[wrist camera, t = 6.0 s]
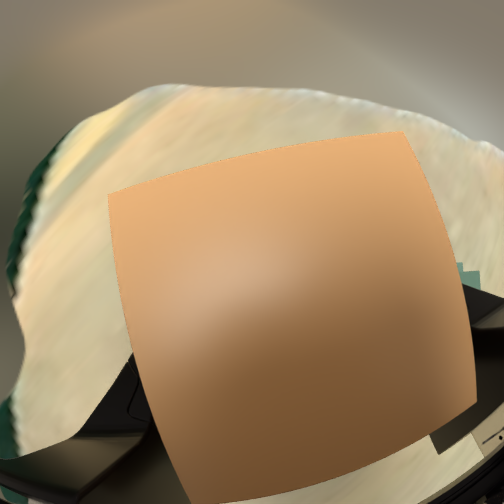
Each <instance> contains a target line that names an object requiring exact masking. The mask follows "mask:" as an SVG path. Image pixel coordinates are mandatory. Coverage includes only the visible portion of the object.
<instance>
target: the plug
mask: <svg viewBox="0 0 504 504" xmlns="http://www.w3.org/2000/svg"><path fill="white" fill-rule="evenodd" d="M108 204H109V216H110V227H111V236H112V244H113V252H114V259H115V266H116V273H117V279H118V285H119V290H120V296H121V301H122V306H123V311H124V316H125V320H126V325H127V329H128V333H129V337H130V342H131V346H132V349H133V353H134V357H135V361H136V364H137V368H138V371H139V375H140V378H141V381H142V385H143V388H144V391H145V394H146V397H147V400H148V403H149V406H150V409H151V412H152V415H153V418H154V420H155V423H156V426H157V428H158V431H159V434H160V436H161V439H162V441H163V444H164V446H165V448H166V451H167V453H168V456H169V458H170V460H171V463H172V465H173V467H174V469H175V471H176V474H177V476H178V478H179V480H180V482H181V484H182V486H183V488H184V490H185V492H186V494H187V496H188V498H189V500H190V502H191V504H220V503H229V502H237V501H244V500H250V499H256V498H261V497H267V496H271V495H276V494H281V493H285V492H289V491H293V490H297V489H301V488H304V487H308V486H311V485H315V484H318V483H321V482H324V481H327V480H330V479H333V478H336V477H339V476H342V475H345V474H347V473H350V472H352V471H355V470H358V469H360V468H362V467H365V466H367V465H370V464H372V463H374V462H376V461H379V460H381V459H383V458H385V457H387V456H389V455H391V454H393V453H395V452H397V451H399V450H401V449H403V448H405V447H407V446H409V445H411V444H413V443H415V442H416V441H418V440H420V439H422V438H423V437H425V436H427V435H428V434H430V433H432V432H433V431H435V430H437V429H438V428H440V427H441V426H443V425H445V424H446V423H448V422H449V421H451V420H452V419H454V418H455V417H456V416H458V415H459V414H461V413H462V412H464V411H465V410H466V409H468V408H469V407H470V406H472V405H473V404H474V403H476V402H477V391H476V373H475V361H474V351H473V343H472V336H471V329H470V323H469V317H468V312H467V306H466V301H465V297H464V292H463V288H462V283H461V279H460V275H459V271H458V268H457V264H456V260H455V257H454V253H453V250H452V247H451V244H450V240H449V237H448V234H447V231H446V228H445V225H444V223H443V220H442V217H441V214H440V212H439V209H438V206H437V204H436V201H435V199H434V196H433V194H432V191H431V189H430V187H429V184H428V182H427V180H426V177H425V175H424V173H423V171H422V169H421V166H420V164H419V162H418V160H417V158H416V156H415V154H414V152H413V150H412V148H411V146H410V144H409V142H408V140H407V138H406V136H405V135H404V133H403V131H401V132H388V133H377V134H368V135H359V136H350V137H343V138H335V139H328V140H321V141H315V142H309V143H303V144H297V145H291V146H286V147H281V148H275V149H270V150H265V151H261V152H256V153H251V154H247V155H242V156H238V157H234V158H229V159H225V160H221V161H217V162H213V163H209V164H205V165H201V166H198V167H194V168H190V169H187V170H183V171H180V172H176V173H173V174H169V175H166V176H163V177H159V178H156V179H153V180H150V181H147V182H144V183H140V184H137V185H134V186H131V187H128V188H125V189H123V190H120V191H117V192H114V193H111V194H108Z"/></svg>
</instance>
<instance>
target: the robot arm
mask: <svg viewBox="0 0 504 504" xmlns="http://www.w3.org/2000/svg"><path fill="white" fill-rule="evenodd" d="M462 288H463V292H464V297H465V301H466V306H467V312H468V317H469V323H470V329H471V336H472V343H473V351H474V361H475V373H476V391H477V402H476V403H474V404H473V405H472V406H470V407H469V408H468V409H466V410H465V411H464V412H462V413H461V414H459V415H458V416H456V417H455V418H454V419H452V420H451V421H449V422H448V423H446V424H445V425H443V426H441V427H440V428H438V429H437V430H435V431H433V432H432V433H430V434H429V436H430V438H431V440H432V442H433V445H434V447H435V449H436V451H437V453H438V455H440V454H441V453H443V452H444V451H446V450H447V449H449V448H450V447H452V446H453V445H455V444H456V443H458V442H459V441H460V440H462V439H463V438H464V437H466V436H467V435H469V434H470V433H471V434H472V435H473V437H474V439H475V441H476V443H477V445H478V447H479V449H480V451H481V452H482V454H483V456H484V458H483V459H482V460H481V461H480V462H478V463H477V464H476V465H475V466H473V467H472V468H471V469H470V470H468V471H467V472H466V473H464V474H463V475H461V476H460V477H459V478H457V479H456V480H454V481H453V482H452V483H450V484H449V485H447V486H446V487H444V488H442V489H441V490H439V491H438V492H436V493H435V494H433V495H431V496H430V497H428V498H426V499H425V500H423V501H421V502H419V503H418V504H504V298H501V297H498V296H496V295H493V294H490V293H488V292H485V291H482V290H479V289H476V288H474V287H471V286H468V285H465V284H463V283H462ZM0 485H1V486H3V487H5V488H7V489H9V490H11V491H13V492H15V493H18V494H20V495H22V496H24V497H27V498H29V501H28V504H191V502H190V500H189V498H188V496H187V494H186V492H185V490H184V488H183V486H182V484H181V482H180V480H179V478H178V476H177V474H176V471H175V469H174V467H173V465H172V463H171V460H170V458H169V456H168V453H167V451H166V448H165V446H164V444H163V441H162V439H161V436H160V434H159V431H158V428H157V426H156V423H155V420H154V418H153V415H152V412H151V409H150V406H149V403H148V400H147V397H146V394H145V391H144V388H143V385H142V381H141V378H140V375H139V371H138V368H137V364H136V361H135V357H134V353H132V354H131V356H130V357H129V359H128V362H126V364H125V365H124V367H123V369H122V370H121V372H120V374H119V375H118V377H117V378H116V380H115V382H114V383H113V385H112V386H111V387H110V389H109V390H108V392H107V393H106V395H105V396H104V397H103V399H102V400H101V402H100V403H99V404H98V406H97V407H96V408H95V410H94V411H93V413H92V414H91V415H90V417H89V418H88V420H87V421H86V422H85V424H84V425H83V426H82V428H81V429H80V430H79V431H78V432H77V433H76V434H75V435H74V436H72V437H70V438H69V439H67V440H65V441H62V442H60V443H57V444H54V445H52V446H49V447H47V448H44V449H41V450H38V451H36V452H33V453H30V454H27V455H24V456H21V457H17V458H13V459H0ZM0 504H12V503H10V502H8V501H6V500H3V499H1V498H0Z"/></svg>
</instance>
